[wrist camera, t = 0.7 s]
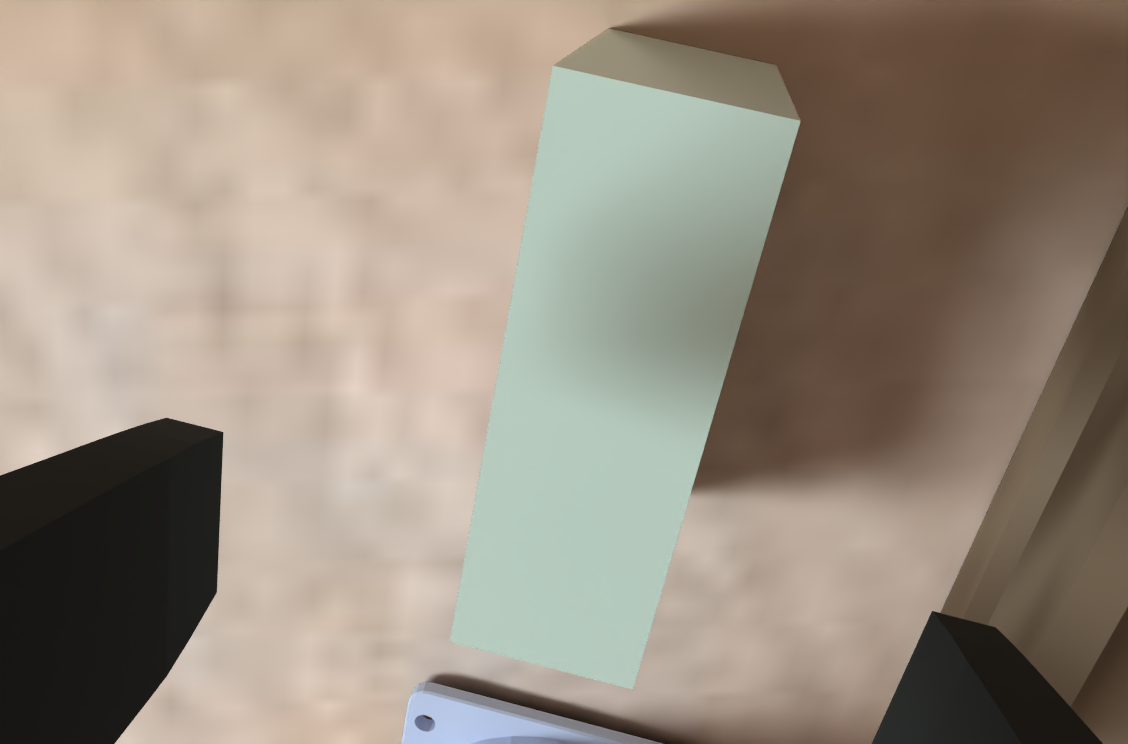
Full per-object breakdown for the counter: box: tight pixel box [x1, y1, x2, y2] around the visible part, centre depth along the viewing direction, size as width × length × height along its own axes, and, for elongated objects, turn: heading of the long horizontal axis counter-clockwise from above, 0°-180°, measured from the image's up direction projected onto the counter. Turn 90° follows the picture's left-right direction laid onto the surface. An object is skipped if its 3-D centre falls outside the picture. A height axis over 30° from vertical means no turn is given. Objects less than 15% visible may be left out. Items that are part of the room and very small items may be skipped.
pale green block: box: [450, 28, 801, 690], centre depth 16 cm, size 9×3×6 cm, turn 169°
